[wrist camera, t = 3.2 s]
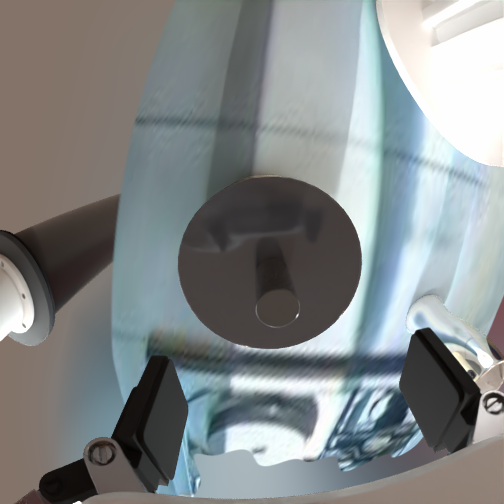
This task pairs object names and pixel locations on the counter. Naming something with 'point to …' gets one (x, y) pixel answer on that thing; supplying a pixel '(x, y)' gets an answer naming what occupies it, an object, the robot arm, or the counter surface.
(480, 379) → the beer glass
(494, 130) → the ribbed cylinder on disc
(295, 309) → the lid
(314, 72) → the counter surface
